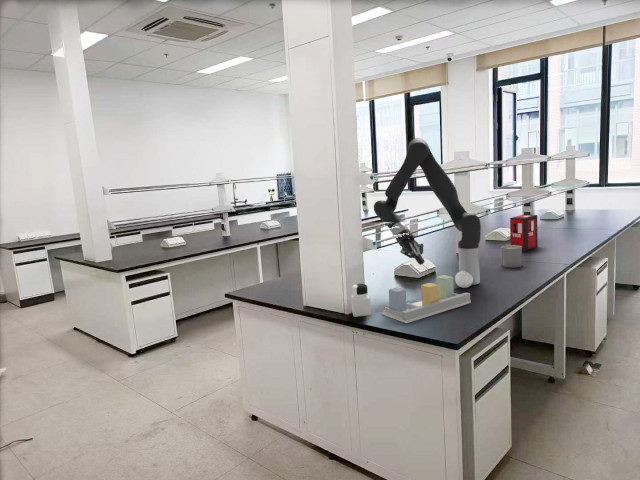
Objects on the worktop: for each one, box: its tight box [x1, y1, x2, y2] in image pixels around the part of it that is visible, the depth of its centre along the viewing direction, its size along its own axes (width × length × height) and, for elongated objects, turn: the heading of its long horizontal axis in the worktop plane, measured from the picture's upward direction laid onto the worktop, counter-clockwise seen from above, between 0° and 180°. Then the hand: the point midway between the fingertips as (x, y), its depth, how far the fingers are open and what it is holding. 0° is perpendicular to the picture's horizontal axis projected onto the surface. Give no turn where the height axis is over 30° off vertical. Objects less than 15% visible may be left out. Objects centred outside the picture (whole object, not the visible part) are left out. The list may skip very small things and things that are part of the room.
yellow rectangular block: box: [420, 282, 439, 306], centre depth 181 cm, size 5×4×9 cm
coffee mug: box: [501, 244, 523, 268], centre depth 243 cm, size 13×10×10 cm
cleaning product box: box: [509, 214, 538, 252], centre depth 281 cm, size 16×9×20 cm, turn 130°
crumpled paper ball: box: [454, 271, 473, 289], centre depth 209 cm, size 8×8×8 cm
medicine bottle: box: [350, 283, 372, 318], centre depth 184 cm, size 7×7×12 cm
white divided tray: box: [381, 292, 472, 324], centre depth 184 cm, size 14×35×4 cm, turn 121°
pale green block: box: [436, 274, 455, 299], centre depth 191 cm, size 5×4×9 cm
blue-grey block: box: [388, 286, 408, 312], centre depth 179 cm, size 5×4×9 cm
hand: (422, 263), depth 200 cm, fingers closed
